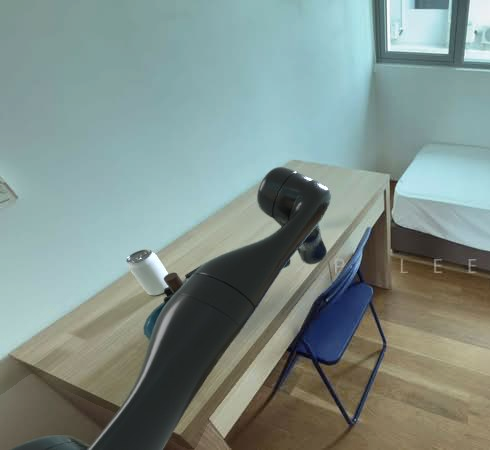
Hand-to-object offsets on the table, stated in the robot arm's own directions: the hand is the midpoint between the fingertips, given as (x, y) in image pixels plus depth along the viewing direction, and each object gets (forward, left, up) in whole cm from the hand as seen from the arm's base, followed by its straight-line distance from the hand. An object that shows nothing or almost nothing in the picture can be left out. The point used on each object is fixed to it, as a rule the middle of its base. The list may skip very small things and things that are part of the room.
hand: (165, 297), depth 70 cm
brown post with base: (+2, -3, -10) cm, 10 cm away
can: (+15, +15, -11) cm, 24 cm away
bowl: (+1, -1, -11) cm, 11 cm away
